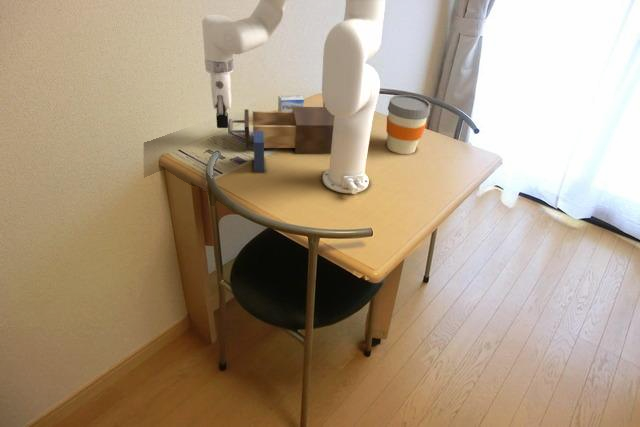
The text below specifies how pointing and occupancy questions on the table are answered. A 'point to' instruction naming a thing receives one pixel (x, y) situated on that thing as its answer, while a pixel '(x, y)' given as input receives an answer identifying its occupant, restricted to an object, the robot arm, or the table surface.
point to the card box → (258, 151)
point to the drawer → (269, 128)
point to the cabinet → (313, 130)
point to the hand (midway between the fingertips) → (222, 126)
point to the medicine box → (289, 102)
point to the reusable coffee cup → (406, 122)
